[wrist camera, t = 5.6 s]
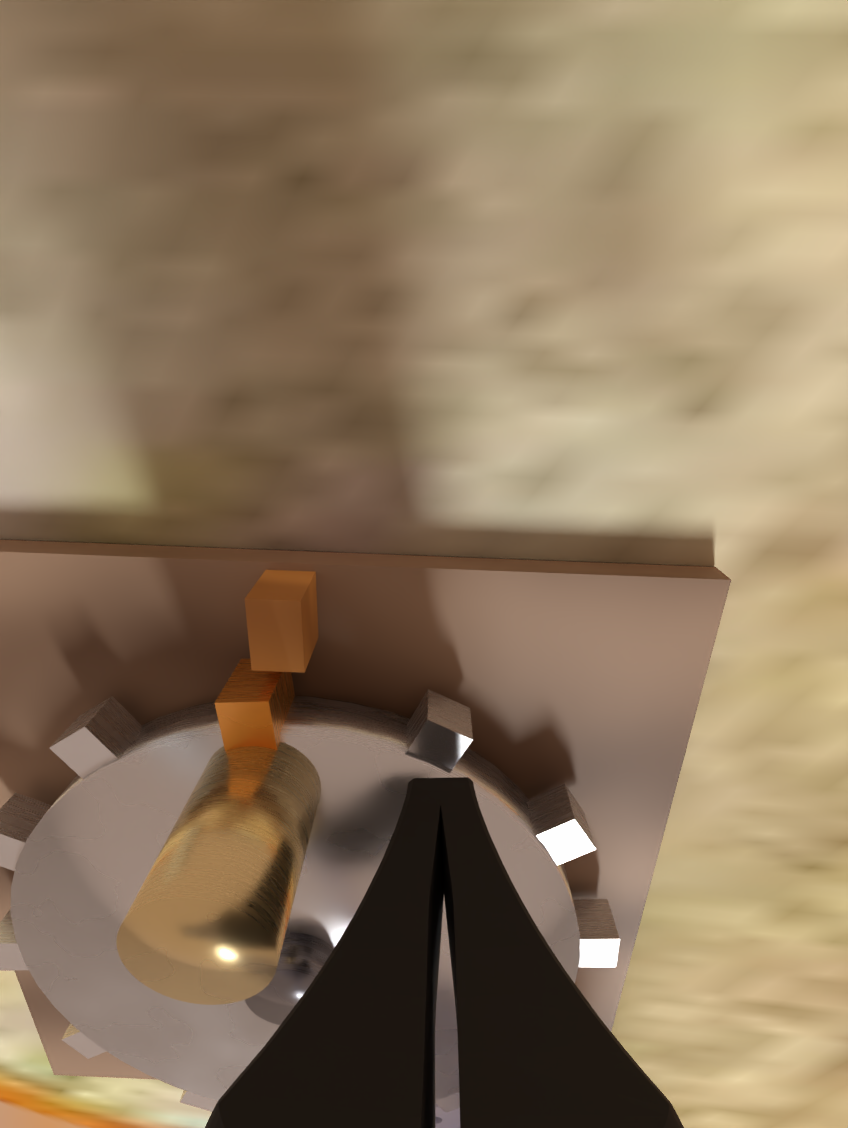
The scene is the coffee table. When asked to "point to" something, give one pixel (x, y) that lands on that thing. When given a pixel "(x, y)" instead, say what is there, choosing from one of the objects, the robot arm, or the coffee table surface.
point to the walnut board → (376, 679)
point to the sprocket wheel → (250, 869)
